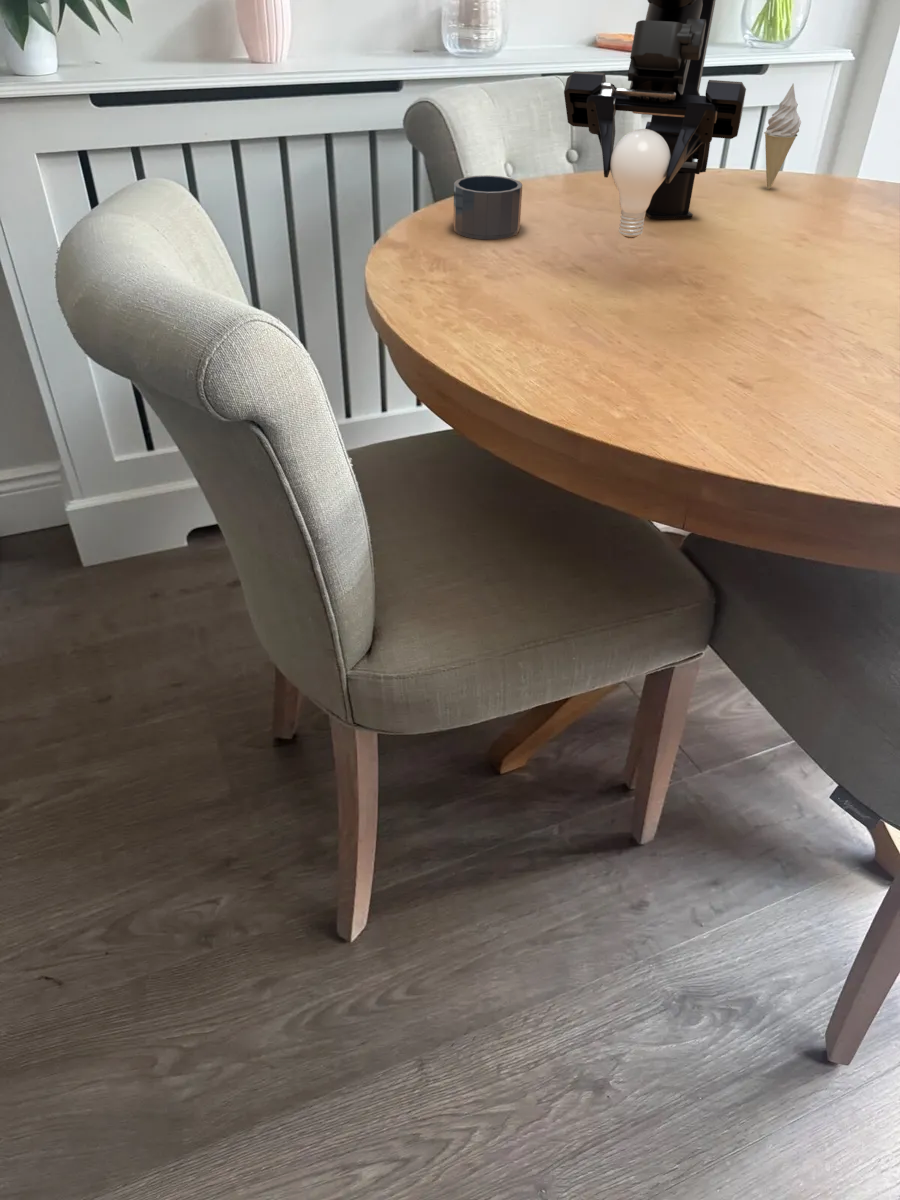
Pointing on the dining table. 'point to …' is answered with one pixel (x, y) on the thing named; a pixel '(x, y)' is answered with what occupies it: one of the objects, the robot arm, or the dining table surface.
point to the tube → (487, 207)
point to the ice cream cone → (781, 135)
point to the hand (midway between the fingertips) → (636, 178)
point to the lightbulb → (638, 175)
